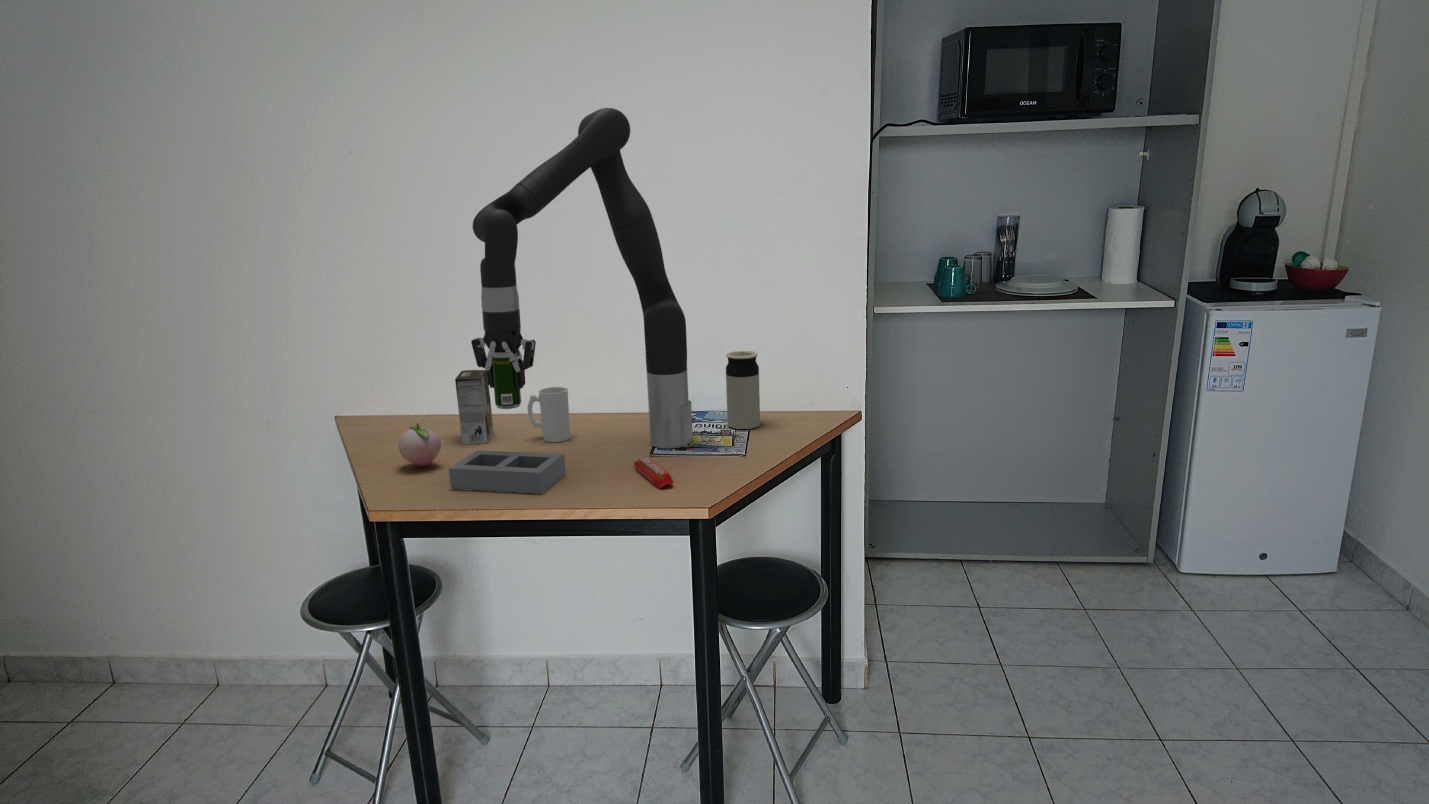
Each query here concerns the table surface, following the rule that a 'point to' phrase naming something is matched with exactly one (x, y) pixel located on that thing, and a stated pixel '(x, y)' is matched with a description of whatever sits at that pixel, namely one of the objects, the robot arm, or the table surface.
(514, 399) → the beer can
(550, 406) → the mug
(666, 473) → the candy bar
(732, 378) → the travel mug
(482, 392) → the coffee box
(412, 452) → the decorative fruit
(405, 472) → the table surface
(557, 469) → the drink caddy
